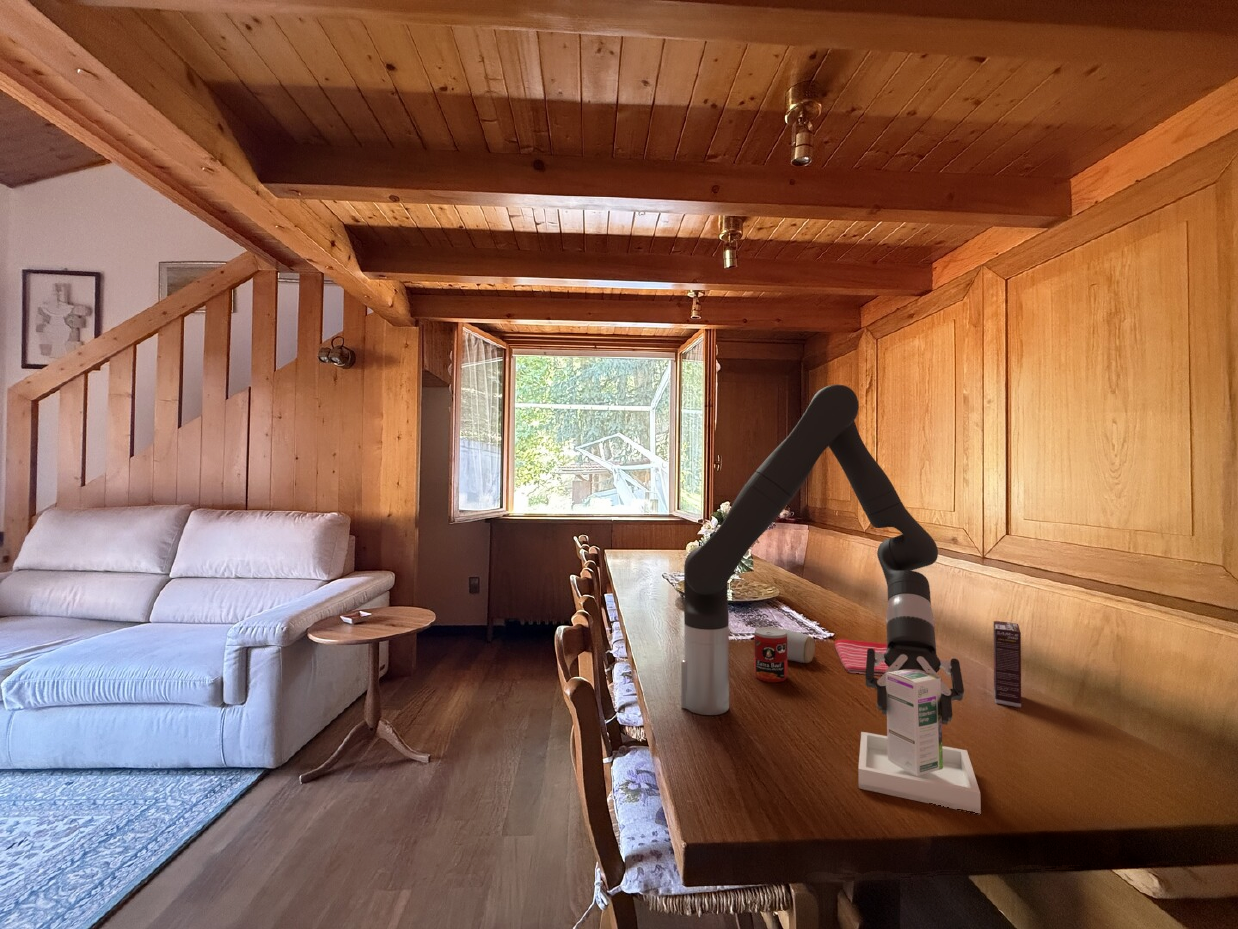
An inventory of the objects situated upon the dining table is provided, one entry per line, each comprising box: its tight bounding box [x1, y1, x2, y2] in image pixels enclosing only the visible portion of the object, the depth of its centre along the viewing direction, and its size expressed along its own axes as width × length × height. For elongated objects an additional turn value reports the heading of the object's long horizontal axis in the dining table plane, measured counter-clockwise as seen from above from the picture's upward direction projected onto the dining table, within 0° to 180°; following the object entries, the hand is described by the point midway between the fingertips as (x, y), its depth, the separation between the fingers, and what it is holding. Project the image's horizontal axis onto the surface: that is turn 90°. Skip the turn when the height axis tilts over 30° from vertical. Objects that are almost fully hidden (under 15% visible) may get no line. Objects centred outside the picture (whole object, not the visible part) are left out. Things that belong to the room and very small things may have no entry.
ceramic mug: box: [783, 628, 816, 664], centre depth 149 cm, size 11×8×8 cm
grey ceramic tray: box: [857, 731, 982, 815], centre depth 90 cm, size 16×14×3 cm
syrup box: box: [886, 669, 943, 777], centre depth 90 cm, size 6×6×14 cm
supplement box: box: [993, 620, 1022, 709], centre depth 122 cm, size 9×5×16 cm, turn 148°
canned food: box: [753, 626, 788, 683], centre depth 135 cm, size 8×8×11 cm
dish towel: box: [833, 638, 889, 676], centre depth 148 cm, size 17×24×3 cm
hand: (914, 717), depth 88 cm, fingers closed on syrup box, 8 cm apart
